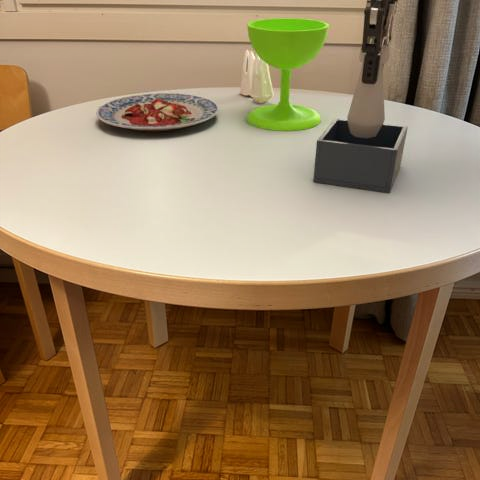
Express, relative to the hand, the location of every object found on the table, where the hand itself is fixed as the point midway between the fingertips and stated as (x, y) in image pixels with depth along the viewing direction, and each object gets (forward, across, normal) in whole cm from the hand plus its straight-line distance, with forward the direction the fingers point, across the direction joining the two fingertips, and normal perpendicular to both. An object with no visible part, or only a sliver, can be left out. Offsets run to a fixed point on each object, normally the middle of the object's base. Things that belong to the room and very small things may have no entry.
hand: (371, 79), depth 80 cm
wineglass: (+15, +25, +21) cm, 36 cm away
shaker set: (+15, +38, +32) cm, 52 cm away
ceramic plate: (+15, +15, +46) cm, 51 cm away
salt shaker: (+8, 0, 0) cm, 8 cm away
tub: (+15, 0, 0) cm, 15 cm away
